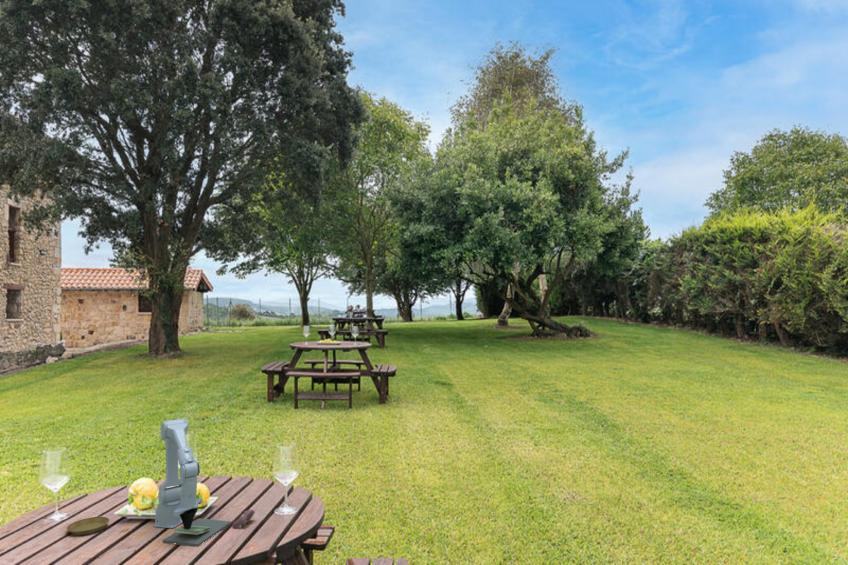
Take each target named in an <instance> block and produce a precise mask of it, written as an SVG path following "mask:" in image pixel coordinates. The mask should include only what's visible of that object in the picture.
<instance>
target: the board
mask: <svg viewBox="0 0 848 565" xmlns="http://www.w3.org/2000/svg"><path fill="white" fill-rule="evenodd" d="M232 524H233V522H232V520H231V521H230V520H221V519H220V520H219V519H218V520H217V519H209V518H202V517H201V518H200V517H199V518H197V519H195V520H193V522H192V525H193V526H203V527H211V531H208V532H204V533H201V534H198V535H194V534H185V533H176V532H175V531H174V532H173V533H172V534H170V535H168V536H167V537H165V538H164V539H162V542H164V543H163V544H169V543H176V544H175V545H177V546H178V545H180V546H186V545H188V546H189V547H195V546H199V545H200V546H202V545H203V544H204V543H203V542H205V541H206V540H207V541H209V540H210V539H212V538H213V537H214V536H213V535H215V534H216V533H218V532H219V531H221V530H222V531H224V530H225V529H226V528H228V527H229V526H231V525H232ZM224 528H225V529H224ZM222 531H221V532H222ZM219 533H220V532H219ZM219 533H218V534H219ZM216 535H217V534H216ZM216 535H215V536H216ZM212 536H213V537H212ZM211 537H212V538H211ZM209 538H210V539H209ZM208 539H209V540H208ZM207 541H206V542H207ZM162 542H161V543H162ZM206 542H205V543H206ZM202 543H203V544H202ZM201 544H202V545H201ZM188 546H187V547H188ZM200 546H199V547H200Z"/></svg>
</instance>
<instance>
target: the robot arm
mask: <svg viewBox="0 0 848 565" xmlns="http://www.w3.org/2000/svg"><path fill="white" fill-rule="evenodd" d="M188 430H189V421H188V419H187V418H186V417H184V418H178V419H172V420H170V419H169V420H163V421H162V422H161V425H160V440H161V441H164V442H165V476H166V477H165V478H166V480H164V481H163V482H162V483H161V484H160V485H159V487H158V495H157V497H158V498H157V499H158V504H157V506H156V508H155V517H154V518H155V519H154V521H155V522H154V524H153V527H154V528H162V529H163V528H164V529H165V528H166V529H174V528H176V527H177V526H180V525H182V527H184V529H190V528H191V525H192V522H193V521H194V518H195V516H196V514H197V512H198V508H199V505H202V504H203V498H201V497H200V498H199V497H198V498H197V492H198V491H197V487H198V477H199V475H200V474H201V467H200V466H201V465H200V462H199V460H197V459H195V456H194V453H193V449H192V448H191V447H189V446H188V441H187V440H188V439H187V434H188Z"/></svg>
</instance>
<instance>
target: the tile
mask: <svg viewBox="0 0 848 565" xmlns="http://www.w3.org/2000/svg"><path fill="white" fill-rule="evenodd" d="M208 531H211V527H203V526H193V525H191V528H190V529H184V526H182V527H178V528H175V529H174V533H175V532H176V533H185V534H194V535H198V534H201V533H204V532H208Z"/></svg>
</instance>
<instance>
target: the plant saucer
mask: <svg viewBox="0 0 848 565" xmlns="http://www.w3.org/2000/svg"><path fill="white" fill-rule="evenodd" d="M109 522H110V518H109V517H106V516H94V517H93V516H92V517H87V518H83V519H79V520H75V521H74V522H72V523H69V524H68V525H67V527H66V530H67V531H68V532H69V533H71V534H72V535H74V536H86V535H91V534H94V533H97V532H99V531H101V530H103V529H104V528H105V527H106V526H107V525H108V524H109Z"/></svg>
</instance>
